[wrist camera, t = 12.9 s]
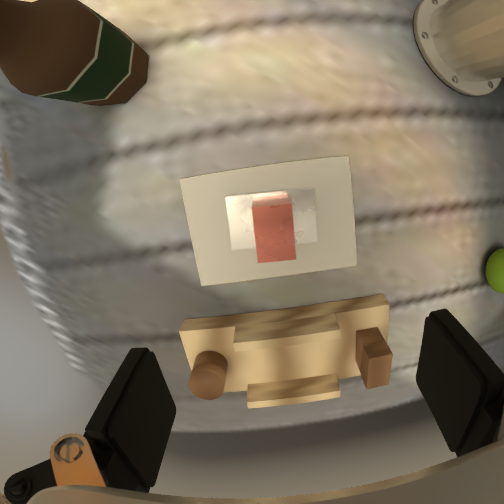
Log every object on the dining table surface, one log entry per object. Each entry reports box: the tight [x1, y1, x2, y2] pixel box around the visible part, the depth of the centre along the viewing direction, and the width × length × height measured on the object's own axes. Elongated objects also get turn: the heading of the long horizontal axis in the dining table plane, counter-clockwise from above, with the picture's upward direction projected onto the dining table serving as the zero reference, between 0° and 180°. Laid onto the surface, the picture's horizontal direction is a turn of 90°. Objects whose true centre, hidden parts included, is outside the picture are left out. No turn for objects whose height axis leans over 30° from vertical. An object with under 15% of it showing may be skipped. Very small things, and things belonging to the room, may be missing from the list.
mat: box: [180, 156, 357, 286], centre depth 30 cm, size 16×11×1 cm
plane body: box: [179, 294, 393, 408], centre depth 31 cm, size 22×9×8 cm, turn 99°
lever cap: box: [225, 187, 318, 263], centre depth 27 cm, size 8×5×6 cm, turn 96°
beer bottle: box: [0, 0, 148, 106], centre depth 15 cm, size 8×8×24 cm
